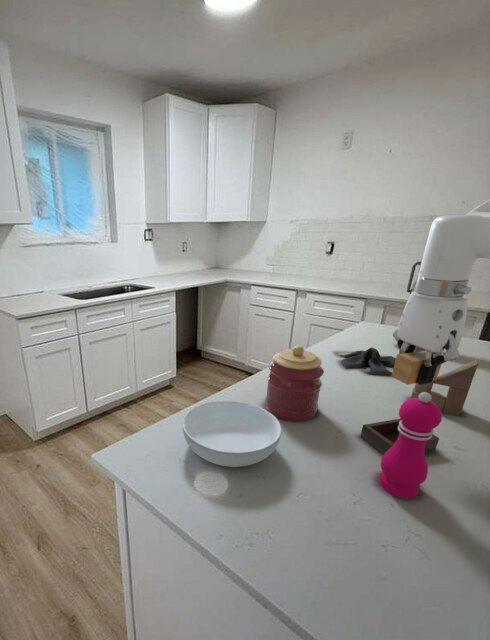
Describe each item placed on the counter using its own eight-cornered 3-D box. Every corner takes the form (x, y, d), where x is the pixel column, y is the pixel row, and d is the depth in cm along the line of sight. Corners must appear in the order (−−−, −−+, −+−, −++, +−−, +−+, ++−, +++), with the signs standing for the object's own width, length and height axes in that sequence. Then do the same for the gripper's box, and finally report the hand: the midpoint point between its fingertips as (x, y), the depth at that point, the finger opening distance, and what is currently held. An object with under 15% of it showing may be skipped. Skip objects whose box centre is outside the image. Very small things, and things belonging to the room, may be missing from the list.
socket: (402, 430, 85) (406, 417, 83) (434, 452, 77) (439, 438, 75) (359, 438, 82) (362, 424, 81) (388, 461, 75) (392, 446, 73)
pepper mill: (428, 503, 64) (463, 404, 56) (383, 498, 65) (412, 401, 57) (410, 475, 70) (439, 384, 62) (370, 472, 72) (393, 381, 64)
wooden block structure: (459, 416, 89) (484, 348, 82) (408, 404, 96) (427, 340, 88) (460, 410, 92) (483, 344, 85) (410, 398, 98) (428, 335, 91)
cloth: (411, 363, 120) (416, 346, 117) (397, 382, 107) (402, 363, 105) (341, 348, 134) (344, 332, 131) (322, 363, 121) (324, 346, 119)
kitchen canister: (260, 415, 92) (266, 351, 85) (269, 393, 103) (275, 335, 95) (314, 427, 87) (326, 359, 80) (318, 402, 97) (329, 341, 90)
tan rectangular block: (419, 372, 76) (425, 350, 74) (436, 380, 73) (443, 357, 70) (391, 376, 75) (396, 353, 73) (406, 384, 71) (413, 361, 69)
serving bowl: (295, 447, 80) (299, 420, 77) (242, 498, 66) (245, 467, 63) (219, 414, 93) (220, 390, 90) (162, 450, 80) (161, 424, 77)
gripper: (504, 296, 59) (468, 394, 67) (418, 279, 74) (396, 360, 82) (467, 299, 58) (434, 399, 65) (386, 281, 73) (368, 364, 80)
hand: (413, 377), depth 74 cm, fingers closed on tan rectangular block, 4 cm apart
